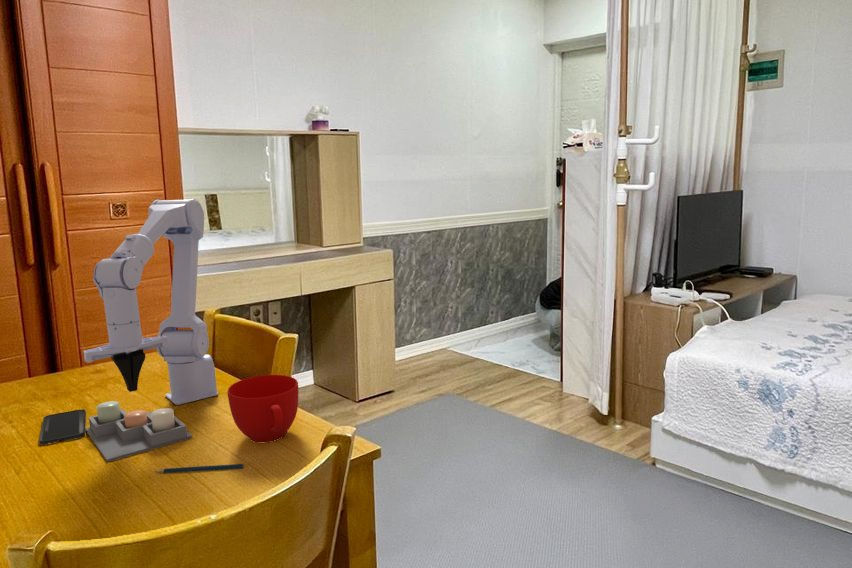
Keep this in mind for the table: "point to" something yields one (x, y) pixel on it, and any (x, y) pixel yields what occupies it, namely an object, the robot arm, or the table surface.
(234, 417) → the ceramic cup
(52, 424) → the phone
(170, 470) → the pencil
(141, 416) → the terracotta key
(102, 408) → the pale green rounded block
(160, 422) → the ivory key
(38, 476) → the table surface
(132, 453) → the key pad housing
